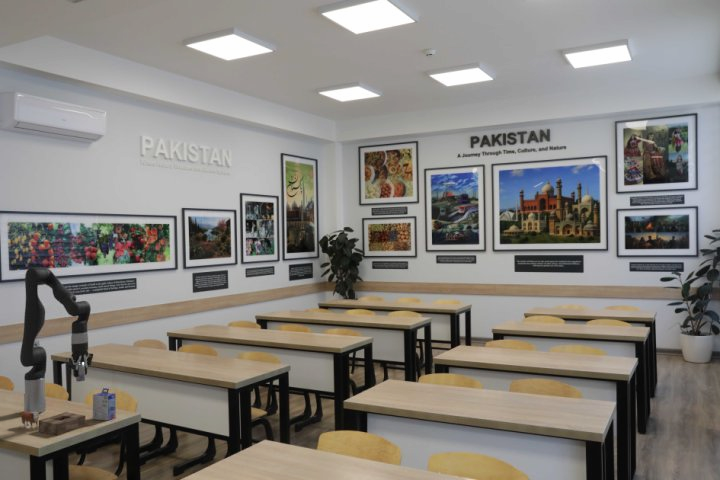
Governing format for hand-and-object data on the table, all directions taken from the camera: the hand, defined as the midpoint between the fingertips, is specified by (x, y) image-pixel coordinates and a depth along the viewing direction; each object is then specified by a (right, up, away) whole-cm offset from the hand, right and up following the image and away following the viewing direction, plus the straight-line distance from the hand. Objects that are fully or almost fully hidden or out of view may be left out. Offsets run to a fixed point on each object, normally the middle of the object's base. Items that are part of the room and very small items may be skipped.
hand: (80, 375), depth 284 cm
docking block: (0, -21, -17) cm, 27 cm away
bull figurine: (-17, -21, -13) cm, 30 cm away
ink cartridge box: (+13, -21, -2) cm, 25 cm away
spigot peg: (0, -2, 0) cm, 2 cm away
